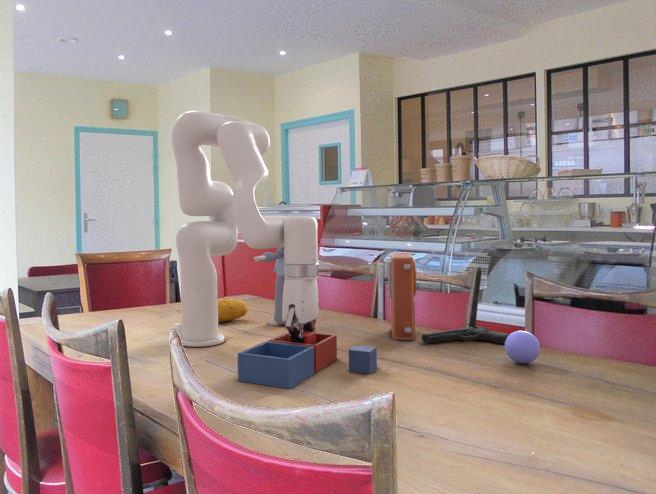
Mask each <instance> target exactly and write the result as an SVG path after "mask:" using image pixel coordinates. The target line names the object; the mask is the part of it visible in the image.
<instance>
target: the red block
mask: <svg viewBox="0 0 656 494" xmlns="http://www.w3.org/2000/svg"><path fill="white" fill-rule="evenodd" d="M298 331H299V329H298ZM316 333H317V332H316V331H315V332H310V331H303V337H302V338H304V344H312V345H314V344H316ZM289 342H290V337H289Z"/></svg>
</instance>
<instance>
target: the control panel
mask: <svg viewBox="0 0 656 494" xmlns="http://www.w3.org/2000/svg"><path fill="white" fill-rule="evenodd" d="M416 269H417V267H416V261H415V260H414V257H413V256H412V254H411V253H390V258H388V259H387V294H388V298H389V299H390V309H391V310H390V311H391V312H390V313H391V315H390V316H391V317H390V318H391V335H392V339H393V340H396V341H398V340H399V341H415V334H416V314H415V313H416V309H415V307H416V306H415V305H416V303H415V296H416V295H417V270H416Z"/></svg>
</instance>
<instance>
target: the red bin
mask: <svg viewBox="0 0 656 494" xmlns="http://www.w3.org/2000/svg"><path fill="white" fill-rule="evenodd" d="M267 342H275V343H285V344H294V345H303V346H311V347H314V373H318V372H319V371H321V370H322V369H324V368H325V367H327V366H329V365H330V364H332V363H333V362H335V361H337V360H338V344H337V343H338V341H337V334H330V333H320V332H316V344H314V345H312V344H303V343H294V342H289V332H288V331H287V332H284V333H282V334H280V335H277V336H276V337H273V338H271V339H268V340H267Z"/></svg>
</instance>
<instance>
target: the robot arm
mask: <svg viewBox="0 0 656 494" xmlns="http://www.w3.org/2000/svg"><path fill="white" fill-rule="evenodd" d="M171 144H172V145H171V146H172V151H173V154H174V158H175V164H176V176H177V178H176V179H177V190H178V202H179V208H180V210H181V212H182V213H183V214H184V215H185V216H189V217H208V218H209V220H201V221H199V220H196V221H190V222H186V223H184V224H183V225H181V227H179V229H178V230H177V233H176V235H175V244H176V249H177V250H176V251H177V254H178V259H179V260H178V261H179V270H180V290H181V291H180V297H181V298H180V299H181V300H180V302H181V303H180V305H181V323H173V325H172V327H171V329H170V330H171V331H172V330H176V331H178V332H179V333H178V332H177V333H178V335H179V334H180V337H181V340H182V344H183V346H182V347H189V348H190V347H193V348H198V347H199V348H202V347H210V346H216V345H220V344H222V343H224V342H225V335H224V334H221V333H219V322H218V300H219V299H218V294H219V293H218V272H217V268H216V266H215V264H214V262H213V260H212V258H211V257H220V256H227V255H230V254H232V253H233V252H234V250H235V249H236V247H237V244H238V236H241V239H242V240H243V242H244V243H245V244H246V246H248V247H249V248H251V249H254V250H268V249H279V248H281V247H284V263H285V264H284V272H285V281H284V288H283V302H282V321H283V322H284V323H286V325H284V326H285V329H286V330H287V332H289V337H290V342H294V343H303V344H304V338H302V337H303V331H310V332H316V322H317V318H318V317H319V313H320V312H319V311H320V306H319V304H320V302H319V301H320V300H319V290H318V289H319V288H318V280H317V279H319V247H318V246H319V241H318V240H319V239H318V238H319V237H318V221H317V219H316V217H313V216H309V215H308V216H307V215H298V216H297V215H296V216H288V215H262V214H261V212H260V210H259V208H258V205H257V202H256V199H255V189H256V188H258V187H260V186H261V185H262V184H264V183H265V181H266V180H267V179H268V177H269V170H268V168H267V166H266V164H265V162H264V159H263V156H264V155H266V154H267V153H268V151H269V149H270V145H271V140H270V135H269V133H268V131H267V130H266V128H265V127H264V126H262V125H260V124H259V123H255V122H252V121H249V120H246V119H242V118H239V117H236V116H232V115H229V114H228V115H227V114H222V113H216V112H210V111H206V110H205V111H203V110H189V111H185V112H183V113H181V115H179V116H178V117H177V119H176V120H175V122H174V124H173V127H172V131H171ZM202 145H203V146H211V147H219V149H220V152H221V154H222V157H223V159H224V161H225V164H226V167H227V169H228V171H229V173H230V176H231V179H232V180H233V183H234V190H232V188H231V187H230V186H229V184H227V183H226V182H223V181H219V180H212V179H211V174H210V164H209V160H208V157H207V155H206V154H205V152H204V151H203V149H202V148H201V146H202ZM238 233H239V234H238ZM294 321H297V322H296V323H294ZM298 330H299V331H298Z"/></svg>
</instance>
